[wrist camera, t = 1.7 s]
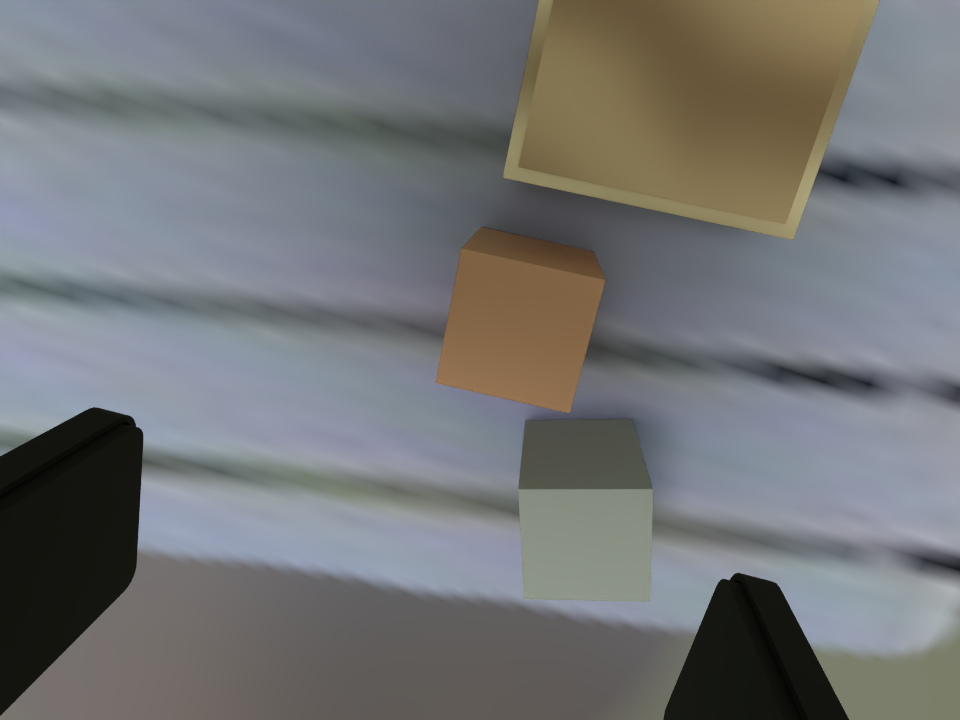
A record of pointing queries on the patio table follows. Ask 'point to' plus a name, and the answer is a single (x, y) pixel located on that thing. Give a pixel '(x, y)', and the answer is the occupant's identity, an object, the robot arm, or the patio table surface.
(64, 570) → the robot arm
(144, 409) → the patio table surface
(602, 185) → the tan square tray
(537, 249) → the terracotta block
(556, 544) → the slate block
